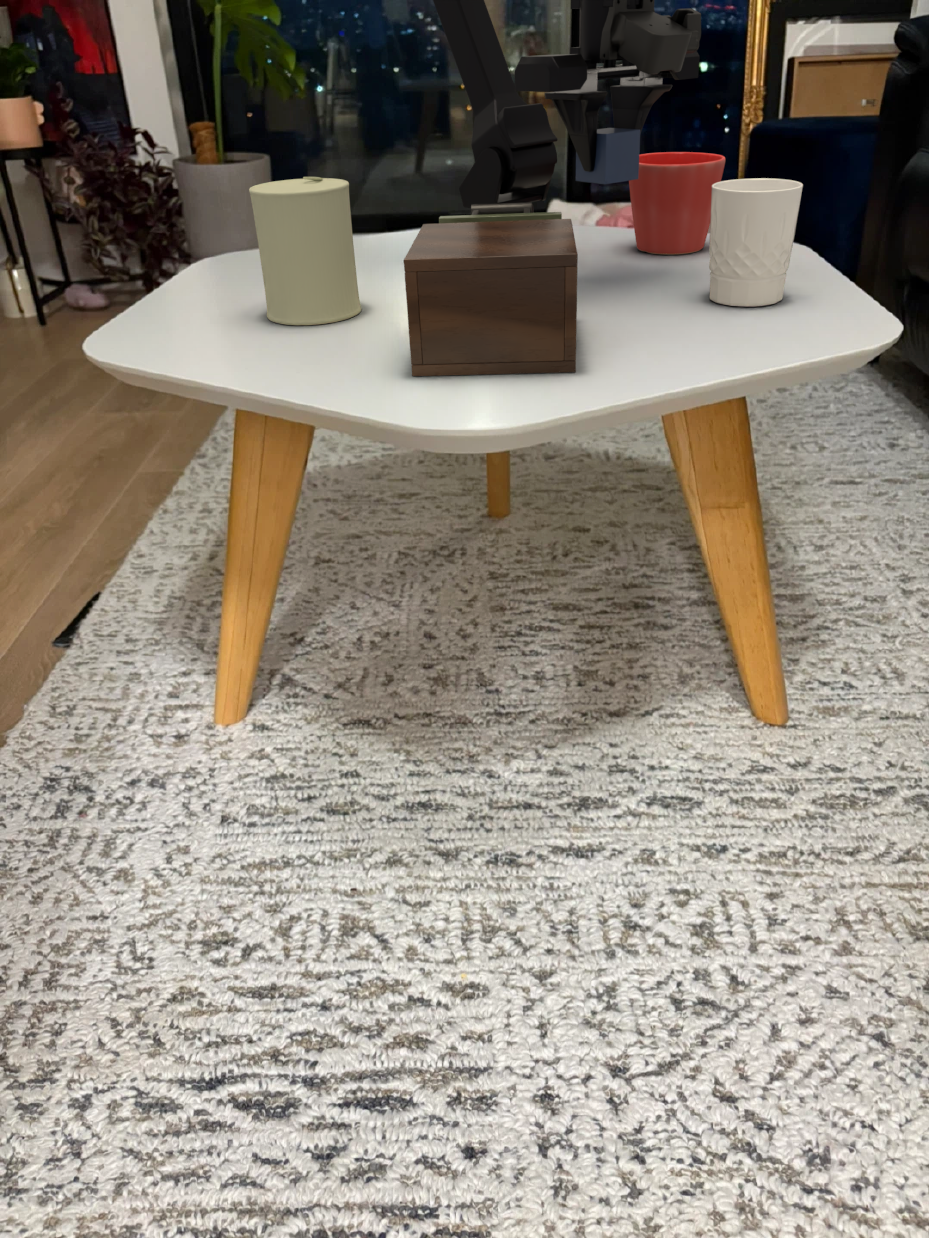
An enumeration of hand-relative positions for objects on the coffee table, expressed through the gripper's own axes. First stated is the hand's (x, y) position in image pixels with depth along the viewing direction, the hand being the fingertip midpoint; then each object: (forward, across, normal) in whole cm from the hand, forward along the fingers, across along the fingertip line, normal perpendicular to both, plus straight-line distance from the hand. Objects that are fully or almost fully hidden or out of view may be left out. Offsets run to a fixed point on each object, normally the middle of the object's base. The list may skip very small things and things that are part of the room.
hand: (606, 168), depth 97 cm
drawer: (+10, -15, -2) cm, 18 cm away
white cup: (+11, +4, -16) cm, 19 cm away
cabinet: (+11, -23, -12) cm, 28 cm away
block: (+1, 0, 0) cm, 1 cm away
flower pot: (+11, +16, +6) cm, 20 cm away
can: (+11, -29, +10) cm, 32 cm away
